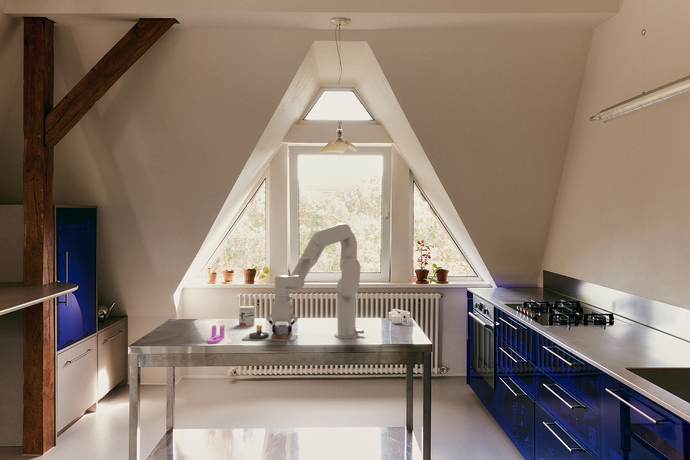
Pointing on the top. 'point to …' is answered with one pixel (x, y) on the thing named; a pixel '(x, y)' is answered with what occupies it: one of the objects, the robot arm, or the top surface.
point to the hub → (259, 334)
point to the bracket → (215, 337)
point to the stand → (281, 335)
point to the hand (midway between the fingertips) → (281, 333)
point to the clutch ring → (281, 329)
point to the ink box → (246, 316)
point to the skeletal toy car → (398, 316)
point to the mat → (271, 339)
